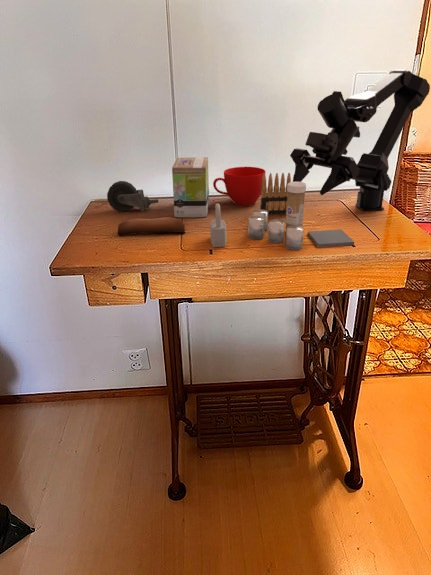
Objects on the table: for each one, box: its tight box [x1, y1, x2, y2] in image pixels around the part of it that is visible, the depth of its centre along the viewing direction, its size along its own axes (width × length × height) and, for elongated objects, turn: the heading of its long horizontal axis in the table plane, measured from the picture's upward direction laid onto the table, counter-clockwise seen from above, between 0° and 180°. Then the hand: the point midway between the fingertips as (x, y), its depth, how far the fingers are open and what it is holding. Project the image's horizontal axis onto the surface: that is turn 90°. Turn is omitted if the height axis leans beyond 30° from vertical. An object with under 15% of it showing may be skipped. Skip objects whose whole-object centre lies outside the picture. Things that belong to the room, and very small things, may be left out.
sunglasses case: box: [117, 216, 186, 236], centre depth 122 cm, size 18×7×7 cm
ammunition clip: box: [259, 172, 294, 216], centre depth 130 cm, size 11×2×12 cm, turn 90°
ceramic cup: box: [212, 166, 266, 207], centre depth 140 cm, size 13×17×10 cm
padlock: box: [209, 202, 227, 248], centre depth 111 cm, size 7×4×10 cm, turn 2°
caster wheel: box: [106, 180, 159, 213], centre depth 137 cm, size 6×10×15 cm
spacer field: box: [247, 209, 305, 251], centre depth 113 cm, size 12×18×5 cm
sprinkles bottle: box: [284, 181, 307, 235], centre depth 114 cm, size 5×5×13 cm
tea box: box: [171, 156, 210, 218], centre depth 134 cm, size 15×10×15 cm
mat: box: [307, 228, 355, 248], centre depth 113 cm, size 9×9×1 cm
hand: (306, 190), depth 114 cm, fingers open, 9 cm apart
